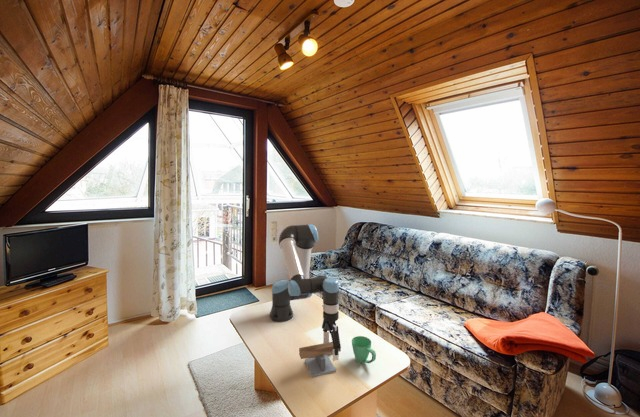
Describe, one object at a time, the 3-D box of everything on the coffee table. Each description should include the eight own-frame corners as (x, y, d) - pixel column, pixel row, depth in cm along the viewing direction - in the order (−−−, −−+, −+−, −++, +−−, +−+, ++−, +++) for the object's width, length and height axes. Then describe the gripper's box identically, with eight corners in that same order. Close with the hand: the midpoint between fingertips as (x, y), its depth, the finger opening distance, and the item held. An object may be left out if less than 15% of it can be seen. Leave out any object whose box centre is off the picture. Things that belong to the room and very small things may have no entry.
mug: (347, 358, 147) (347, 339, 146) (361, 351, 152) (362, 334, 151) (367, 374, 135) (367, 354, 134) (382, 367, 140) (382, 347, 139)
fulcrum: (305, 361, 145) (305, 348, 144) (327, 356, 148) (327, 344, 147) (311, 377, 133) (311, 363, 132) (335, 371, 137) (336, 358, 136)
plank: (299, 354, 139) (299, 347, 138) (337, 347, 145) (338, 340, 144) (301, 359, 135) (301, 352, 135) (340, 351, 141) (340, 344, 141)
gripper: (315, 301, 150) (316, 339, 152) (332, 324, 126) (332, 369, 129) (329, 299, 152) (329, 337, 155) (348, 321, 129) (347, 366, 131)
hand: (330, 351), depth 142 cm, fingers open, 13 cm apart
